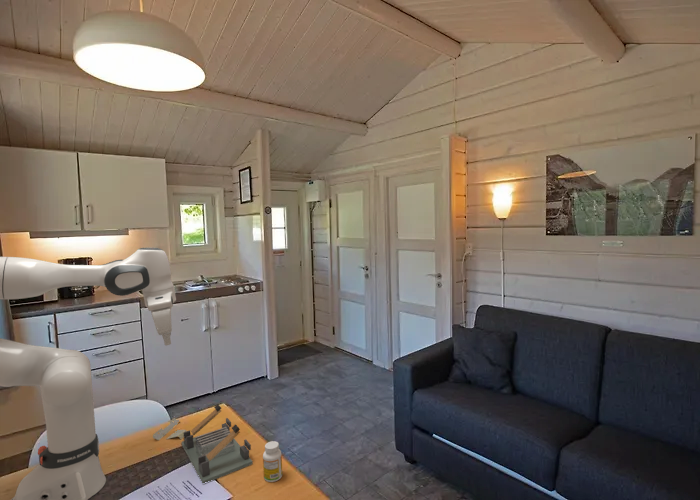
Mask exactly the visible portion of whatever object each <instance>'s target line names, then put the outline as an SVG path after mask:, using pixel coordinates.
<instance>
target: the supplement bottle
mask: <svg viewBox="0 0 700 500" xmlns="http://www.w3.org/2000/svg"><path fill="white" fill-rule="evenodd" d="M279 445H280V444H279V442H278V441H275V440H274V441H273V440H271V441H269V442H267V443H265V445H264V452H263V454H262V464H263V465H262V467H263V478H264V481H265V482H268V483H274V482H277V481H279V480H281V478H282V477H283V460H282V459H283V458H282V457H283V455H282V450H281V449H280V446H279Z"/></svg>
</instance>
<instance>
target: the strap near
mask: <svg viewBox="0 0 700 500" xmlns="http://www.w3.org/2000/svg"><path fill="white" fill-rule="evenodd" d="M240 433H241V429H240V428H239V426H238V425H237V423H236V424H234V425H233V426H231V431H230V434H229V435H228V436H227V437H225V438H224V439H223V440H222V441H221V442H220V443H219V444H218V445H217V446H216V447H215V448H214V449H213V450H212V451H211V452H209V453H208V454H207V455H206V456H207V458H208V460H209V461H211V460H212V459H213V458H214V457H215V456H216V455H217V454H218V453H219V452H220V451H221V450H222V449H223V448H224V447H225V446H226V445H227V444H229V443H230V442H231V441H232V440H233V439H235V438H236V437H237V436H238V435H239V434H240Z"/></svg>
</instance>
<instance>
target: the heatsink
mask: <svg viewBox="0 0 700 500" xmlns="http://www.w3.org/2000/svg"><path fill="white" fill-rule="evenodd" d="M230 433H231V431H228V429H227V427H224V428H222V427H221V428H219V429H215V430H212V431H209V432H206V433H203V434H201V435H197V436H195V437H196V452H197V454H198V455H199V457H200V456H203V455H205V456H206V455H207V454H208V453H209V452H211V451H212V450H213V449H214V448H215V447H216V446H217V445H218V444H219V443H220V442H221V441H222V440H223V439H224V438H225V437H227V436H228V435H229V434H230ZM233 451H235V450H234V440H232V441H231V442H230V443H229V444H227V445H226V446H225V447H224V448H223V449H222V450H221V451H220V452H219V453H218V454H217V455H216V456H215V457H214V458H217V457H220V456H222V455H225V454H228V453H230V452H233ZM214 458H213V459H214ZM206 461H209V460H208V458H207V456H206Z"/></svg>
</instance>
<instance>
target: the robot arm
mask: <svg viewBox="0 0 700 500" xmlns="http://www.w3.org/2000/svg"><path fill="white" fill-rule="evenodd" d="M86 286H87V287H90V286H92V287H93V286H94V287H95V286H97V287H98V286H100V287H103V288H105V289H106V290H107V291H108V292H109V293H111V294H113V295H115V296H119V297H121V296H122V297H123V296H128V295H132V294H133V293H134V294H135V293H137V292H139V291H142V296H143V301H144V305H145V307H146V308H147V310H148V311H149V312H151V317H152V319H153V323H154V326H155V330H156V332H157V334H158V335H159V336H161V337H162V340H163V343H164V346H166V347H167V346H170V345H172V339H171V336H172V329H173V328H172V308H173V307H174V303H175V302H176V301H177V297H176V292H175V285H174V283H173V281H172V269H171V265H170V261H169V257H168V255H167V253H166V251H165V250H163V249H162V248H159V247H140V248H138V249H137V250H136V251H134V253H132V254H131V255H130V256H128V257H126V258H125V259H115V260H113V261H112V260H111V261H110V262H107V263H104V264H89V265H87V264H62V263H55V262H52V261H46V260H41V259H35V258H30V257H21V256H20V257H17V256H16V257H15V256H0V300H19V299H20V300H21V299H22V300H23V299H28V298H34V297H39V296H42V295H44V294H46V293H49V292H52V291H53V290H56V289H60V288H65V287H86ZM91 368H92V367H91V361H90V359H89V357H88V356H87V355H86V354H85V353H83V352H82V351H80V350H77V349H64V348H59V347H51V346H43V345H42V346H39V345H33V344H28V343H23V342H20V341H19V342H18V341H15V340H11V339H6V338H1V337H0V387H4V388H9V387H21V386H22V387H40V395H41V396H40V397H41V402H42V409H43V415H44V419H45V429H46V439H47V441H46V442H47V446H46V445H41V446H39V448H38V449H37V455H38V461H39V462H38V463H39V464H38V465H37V466H35V467H34V468H33V469H32V470H31V471H30V472H28V473H27V474H26V475H25V476H24V477H23V478H22V479H21V481H20V482H19V484H18V486H17V488H16V492H15V495H14V496H13V497H12V498H11V499H10V500H89V499H90V498H92V497H93V496H94V495H96V494H97V493H98V492H100V491H101V490H102V489H103V487H104V486H105V485H106V482H107V478H106V476H105V474H104V472H103V469H102V466H101V460H100V459H99V457H100V456H99V455H100V454H99V453H100V441H99V437H98V434H97V432H96V420H95V407H94V406H95V405H94V396H93V395H94V394H93V382H92V369H91Z"/></svg>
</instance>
